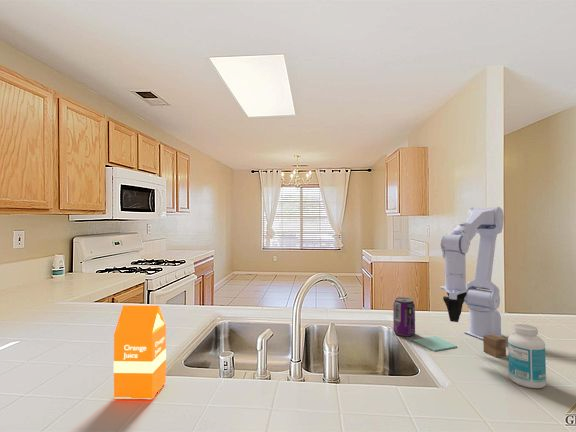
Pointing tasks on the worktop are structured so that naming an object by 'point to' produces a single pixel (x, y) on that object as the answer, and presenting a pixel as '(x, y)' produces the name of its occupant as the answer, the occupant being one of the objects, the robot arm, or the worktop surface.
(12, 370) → the worktop surface
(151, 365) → the orange juice
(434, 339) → the teal coaster
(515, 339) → the pill bottle
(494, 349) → the walnut block
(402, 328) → the beverage can
